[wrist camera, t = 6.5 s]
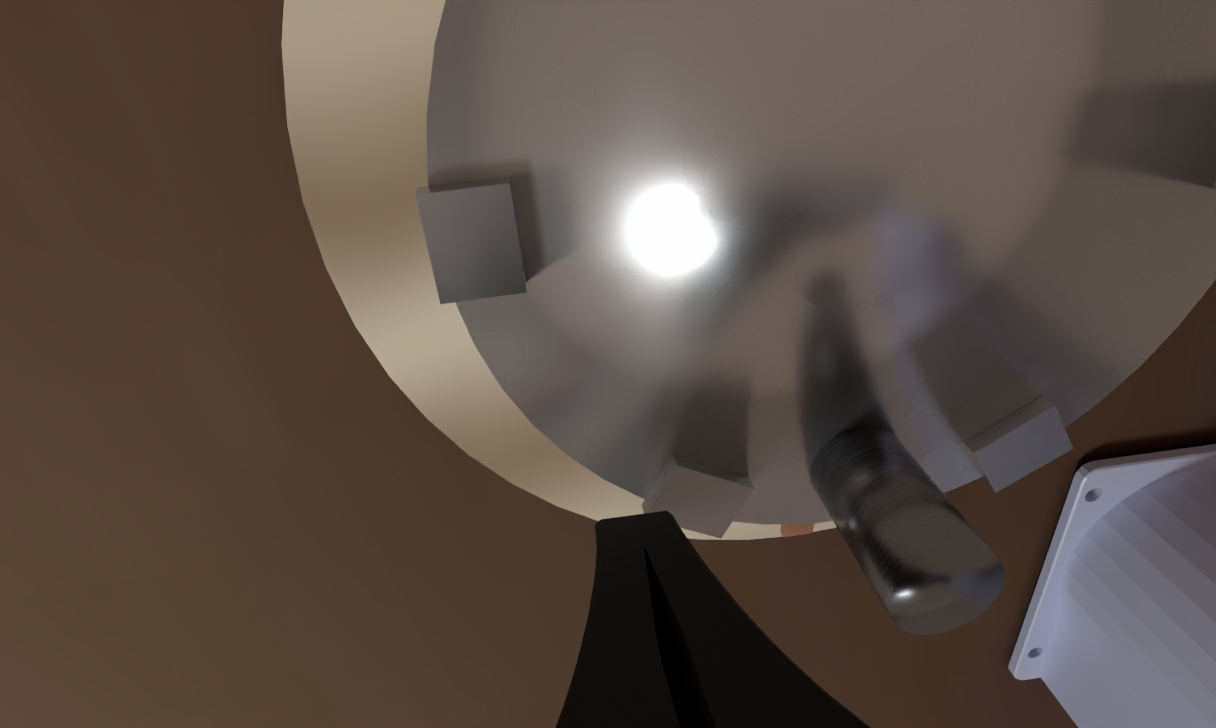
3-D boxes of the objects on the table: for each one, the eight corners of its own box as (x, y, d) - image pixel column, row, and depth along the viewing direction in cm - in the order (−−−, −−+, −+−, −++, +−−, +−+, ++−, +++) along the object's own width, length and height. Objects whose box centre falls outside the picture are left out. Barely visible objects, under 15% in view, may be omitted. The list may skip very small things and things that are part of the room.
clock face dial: (1376, -427, 10) (2101, -739, 6) (1106, 416, 18) (1323, 580, 13) (319, -352, 9) (140, -664, 5) (504, 513, 17) (508, 729, 12)
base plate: (1104, 453, 21) (1149, 490, 20) (415, 547, 19) (408, 596, 18) (1485, -586, 11) (1635, -668, 10) (120, -594, 9) (51, -695, 8)
